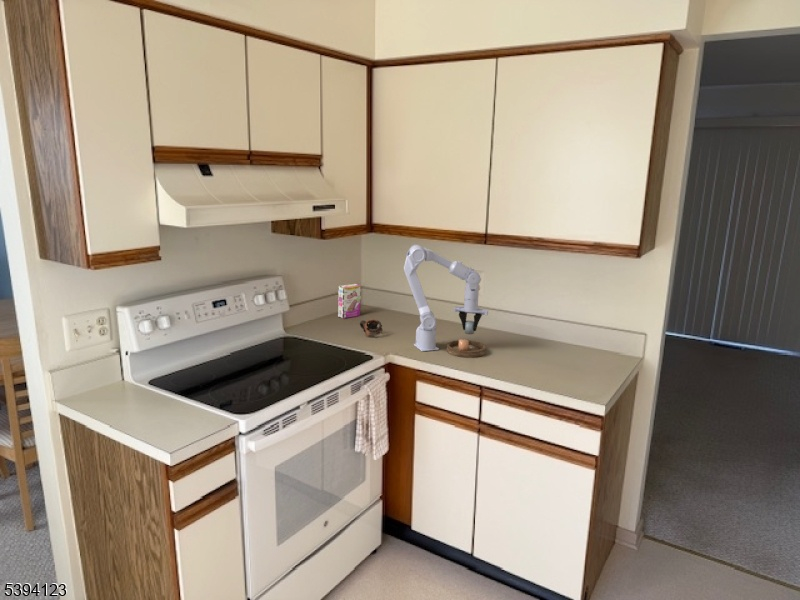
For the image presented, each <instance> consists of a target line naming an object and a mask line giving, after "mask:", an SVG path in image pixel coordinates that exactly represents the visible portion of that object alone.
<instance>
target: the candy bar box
mask: <svg viewBox="0 0 800 600" xmlns="http://www.w3.org/2000/svg"><path fill="white" fill-rule="evenodd" d="M337 292H338V294H337V295H338V296H337V297H338V299H337V301H338V302H337V303H338V304H337V317H338V318H340V319H344V320H345V319H349V318H355V317H361V305H362V303H361V299H362V285H360V284H357V283H352V284H344V285H338V291H337Z"/></svg>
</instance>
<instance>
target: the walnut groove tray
mask: <svg viewBox="0 0 800 600" xmlns="http://www.w3.org/2000/svg"><path fill="white" fill-rule="evenodd" d="M459 340H460V339H457V340H451V341H449V342H447V343H446V352H447V353H448V354H450V355H452V356H453V357H459V358H467V359H469V358H471V359H473V358H479V357H482V356H484V355H485V354H486V345H485V344H484V343H482V342H479V341H476V340H475V341H474V340H470V339H469V340H468V339H467V340H468V341H469V343H468V351H461V350H458V347H459Z"/></svg>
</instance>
